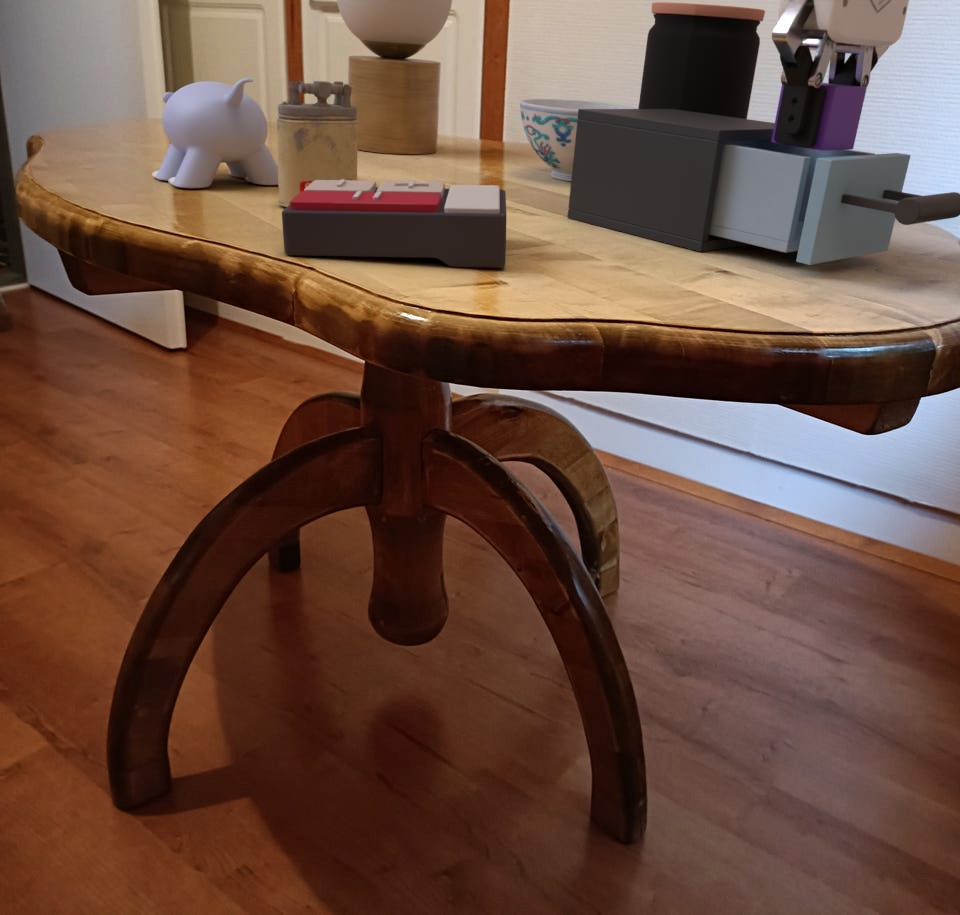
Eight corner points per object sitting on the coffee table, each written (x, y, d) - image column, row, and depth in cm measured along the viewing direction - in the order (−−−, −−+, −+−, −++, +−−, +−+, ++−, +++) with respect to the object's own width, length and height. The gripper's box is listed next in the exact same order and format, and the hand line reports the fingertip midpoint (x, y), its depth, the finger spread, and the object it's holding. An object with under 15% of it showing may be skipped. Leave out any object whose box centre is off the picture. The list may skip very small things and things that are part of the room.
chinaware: (519, 184, 101) (525, 106, 97) (510, 164, 114) (515, 95, 111) (660, 193, 101) (671, 116, 98) (634, 172, 115) (643, 104, 112)
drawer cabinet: (789, 238, 83) (811, 127, 79) (700, 252, 75) (720, 130, 71) (658, 208, 92) (672, 108, 89) (567, 217, 85) (578, 108, 81)
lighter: (288, 211, 79) (286, 81, 75) (269, 203, 82) (266, 77, 78) (364, 207, 83) (366, 83, 79) (344, 199, 86) (345, 79, 82)
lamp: (332, 136, 128) (332, -77, 118) (436, 141, 131) (446, -66, 121) (337, 151, 115) (339, -88, 104) (454, 156, 117) (466, -76, 107)
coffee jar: (741, 200, 101) (774, 12, 94) (720, 213, 92) (755, 7, 85) (643, 187, 105) (667, 5, 97) (614, 199, 96) (638, 0, 88)
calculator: (309, 175, 73) (505, 178, 73) (312, 232, 75) (504, 235, 75) (279, 199, 63) (507, 203, 63) (283, 264, 65) (505, 268, 65)
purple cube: (802, 141, 75) (814, 81, 74) (853, 149, 72) (867, 87, 71) (770, 142, 73) (782, 80, 71) (822, 150, 70) (835, 86, 68)
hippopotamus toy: (234, 165, 99) (230, 66, 96) (302, 189, 89) (300, 79, 85) (129, 168, 93) (121, 63, 89) (189, 194, 83) (182, 76, 79)
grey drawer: (961, 267, 72) (989, 166, 69) (887, 284, 65) (914, 173, 62) (745, 219, 85) (760, 132, 82) (663, 229, 78) (676, 135, 75)
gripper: (857, -164, 57) (794, 154, 65) (979, -121, 68) (913, 148, 75) (751, -155, 62) (704, 139, 70) (880, -116, 73) (827, 136, 80)
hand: (813, 141), depth 72 cm, fingers closed on purple cube, 4 cm apart
